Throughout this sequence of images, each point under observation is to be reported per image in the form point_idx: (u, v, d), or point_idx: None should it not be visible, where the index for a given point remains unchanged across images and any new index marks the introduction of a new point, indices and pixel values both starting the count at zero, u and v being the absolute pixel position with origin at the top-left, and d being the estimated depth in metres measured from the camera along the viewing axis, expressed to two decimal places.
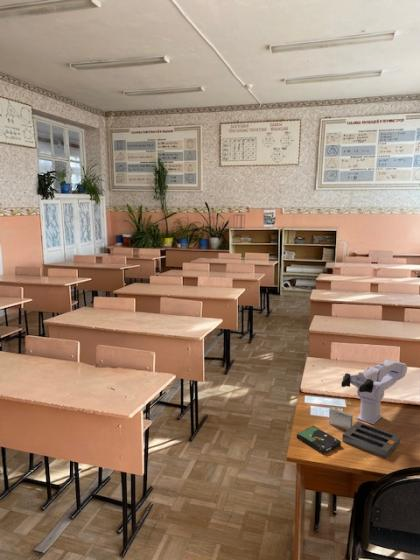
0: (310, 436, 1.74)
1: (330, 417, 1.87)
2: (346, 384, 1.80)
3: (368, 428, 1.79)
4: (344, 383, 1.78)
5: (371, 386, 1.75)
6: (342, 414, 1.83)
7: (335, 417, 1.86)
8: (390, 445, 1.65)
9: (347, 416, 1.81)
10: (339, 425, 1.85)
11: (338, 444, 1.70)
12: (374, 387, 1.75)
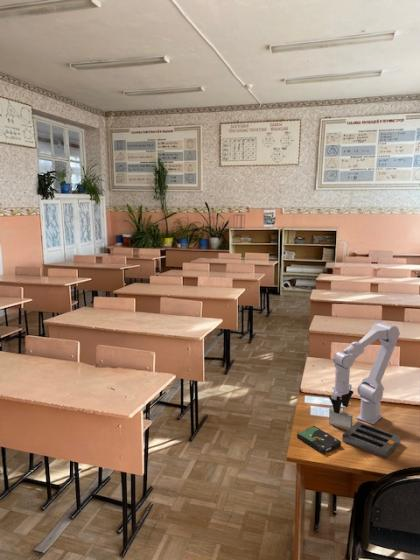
0: (310, 436, 1.74)
1: (330, 417, 1.87)
2: (347, 399, 1.85)
3: (368, 428, 1.79)
4: (344, 403, 1.86)
5: (334, 399, 1.79)
6: (342, 414, 1.83)
7: (335, 417, 1.86)
8: (390, 445, 1.65)
9: (347, 416, 1.81)
10: (339, 425, 1.85)
11: (338, 444, 1.70)
12: None
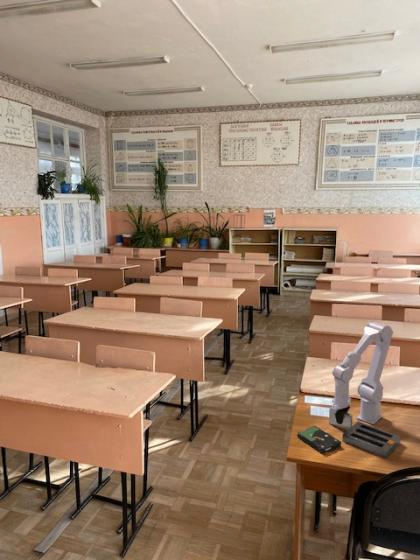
0: (310, 436, 1.75)
1: (330, 417, 1.87)
2: None
3: (368, 428, 1.79)
4: None
5: None
6: None
7: (335, 417, 1.86)
8: (390, 445, 1.65)
9: (347, 416, 1.81)
10: (339, 425, 1.85)
11: (338, 444, 1.70)
12: (334, 412, 1.79)
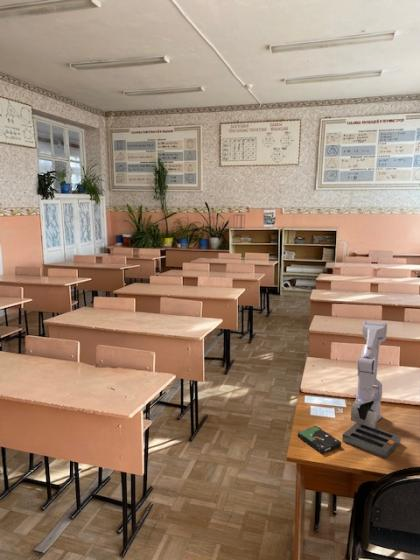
0: (310, 436, 1.75)
1: (352, 413, 1.77)
2: None
3: (368, 428, 1.79)
4: None
5: (360, 405, 1.71)
6: None
7: (358, 414, 1.75)
8: (390, 445, 1.65)
9: (371, 412, 1.71)
10: (362, 422, 1.74)
11: (338, 445, 1.69)
12: None
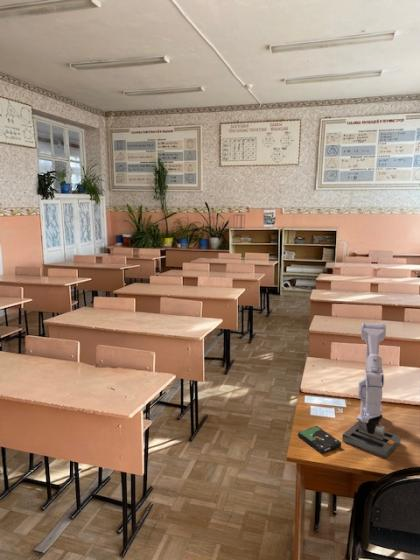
0: (310, 435, 1.75)
1: (360, 429, 1.75)
2: None
3: None
4: None
5: None
6: None
7: (365, 429, 1.73)
8: (390, 445, 1.65)
9: (379, 428, 1.69)
10: None
11: (338, 445, 1.69)
12: None
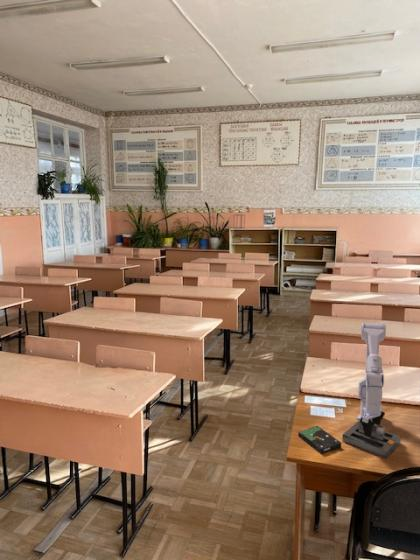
0: (310, 435, 1.75)
1: (360, 429, 1.75)
2: (378, 421, 1.74)
3: None
4: None
5: None
6: (373, 426, 1.71)
7: None
8: (390, 445, 1.65)
9: (379, 429, 1.69)
10: None
11: (338, 445, 1.69)
12: None
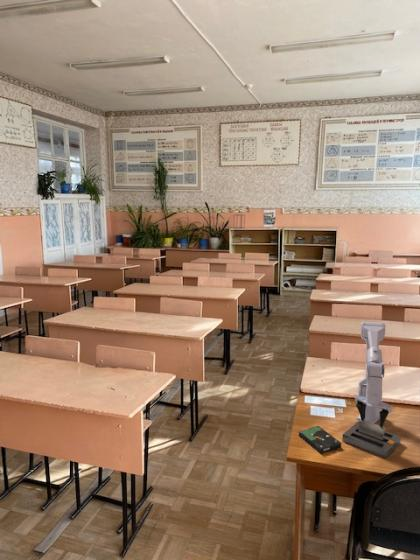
0: (311, 435, 1.75)
1: (360, 429, 1.75)
2: (364, 411, 1.74)
3: None
4: (363, 417, 1.74)
5: None
6: (373, 426, 1.71)
7: (365, 430, 1.73)
8: (390, 445, 1.65)
9: (379, 429, 1.69)
10: None
11: (338, 445, 1.69)
12: None
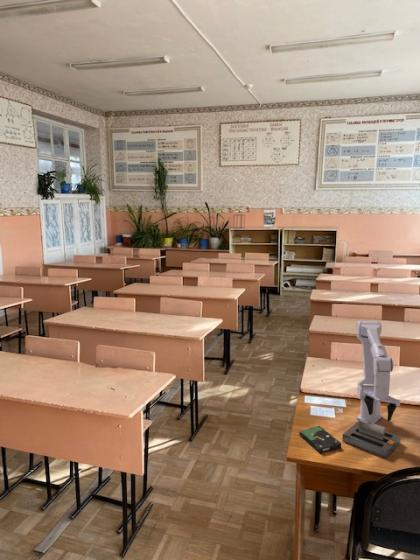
0: (311, 435, 1.75)
1: (360, 429, 1.75)
2: (372, 405, 1.77)
3: None
4: (371, 411, 1.76)
5: None
6: (373, 426, 1.71)
7: (365, 430, 1.73)
8: (390, 445, 1.65)
9: (379, 429, 1.69)
10: None
11: (338, 446, 1.69)
12: None
